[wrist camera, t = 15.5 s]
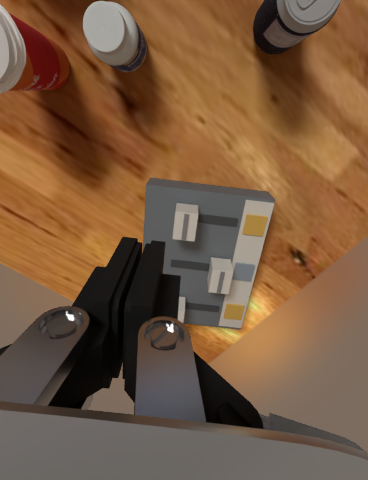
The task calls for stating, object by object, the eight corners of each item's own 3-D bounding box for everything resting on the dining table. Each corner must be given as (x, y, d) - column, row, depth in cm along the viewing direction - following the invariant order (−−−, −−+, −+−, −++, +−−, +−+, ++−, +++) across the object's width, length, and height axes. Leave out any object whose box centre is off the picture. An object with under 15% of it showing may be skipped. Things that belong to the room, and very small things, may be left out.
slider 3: (230, 259, 42) (233, 272, 39) (225, 281, 44) (228, 295, 41) (211, 257, 42) (212, 270, 39) (207, 279, 44) (208, 293, 41)
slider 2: (198, 205, 39) (198, 214, 35) (194, 231, 40) (194, 242, 37) (176, 202, 39) (175, 211, 35) (174, 228, 40) (172, 239, 37)
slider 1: (185, 297, 46) (184, 312, 42) (182, 315, 47) (181, 331, 44) (167, 295, 46) (165, 309, 42) (165, 313, 47) (163, 329, 44)
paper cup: (20, 91, 37) (-70, 82, 24) (16, 22, 34) (-89, -30, 21) (78, 104, 38) (19, 102, 25) (80, 37, 34) (14, -4, 22)
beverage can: (308, 29, 33) (364, -9, 22) (269, 66, 35) (303, 47, 24) (282, -16, 32) (328, -81, 21) (242, 25, 33) (265, -15, 22)
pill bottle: (140, 79, 36) (123, 70, 27) (100, 62, 35) (70, 47, 27) (153, 32, 34) (139, 6, 25) (111, 13, 33) (81, -22, 24)
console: (267, 191, 42) (275, 200, 38) (237, 314, 52) (240, 331, 48) (150, 177, 42) (145, 185, 38) (142, 304, 52) (138, 320, 48)
